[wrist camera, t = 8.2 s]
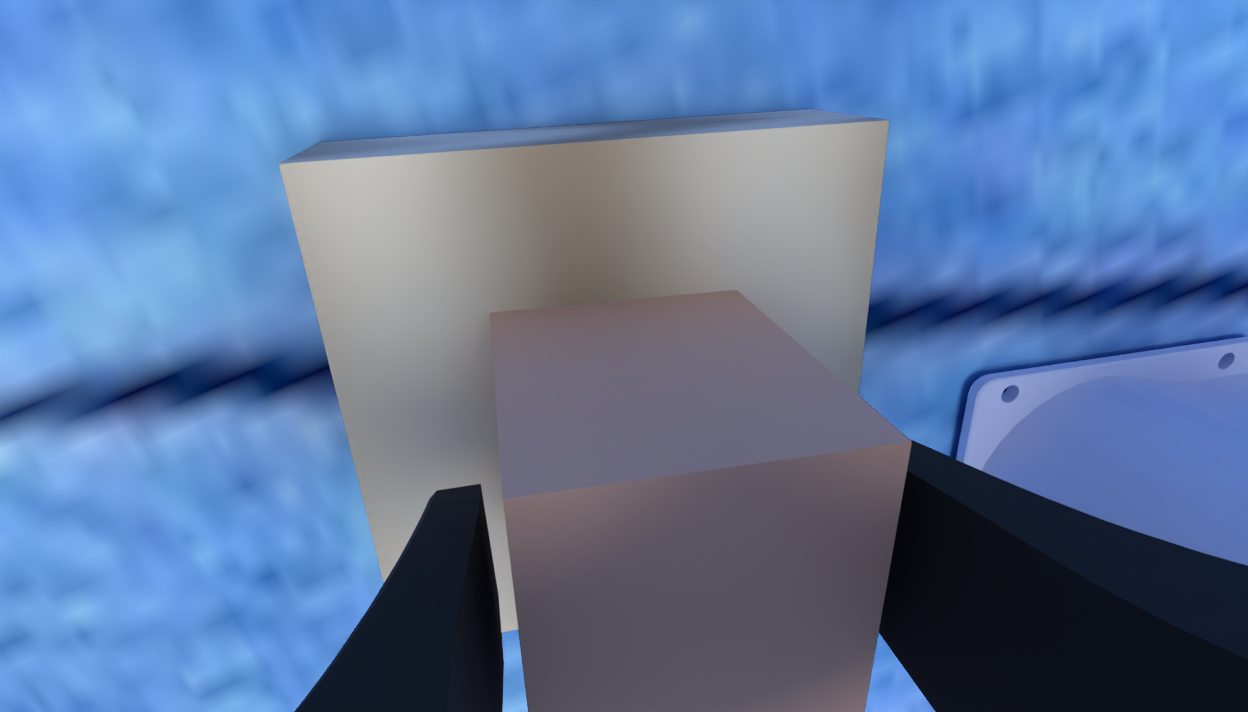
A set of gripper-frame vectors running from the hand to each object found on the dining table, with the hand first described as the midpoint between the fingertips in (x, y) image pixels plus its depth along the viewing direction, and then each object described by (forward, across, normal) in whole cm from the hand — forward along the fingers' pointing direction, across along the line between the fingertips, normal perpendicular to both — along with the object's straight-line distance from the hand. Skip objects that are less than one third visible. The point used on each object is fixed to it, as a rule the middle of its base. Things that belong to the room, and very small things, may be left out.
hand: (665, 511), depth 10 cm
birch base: (+6, 0, 0) cm, 6 cm away
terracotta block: (+3, 0, 0) cm, 3 cm away
